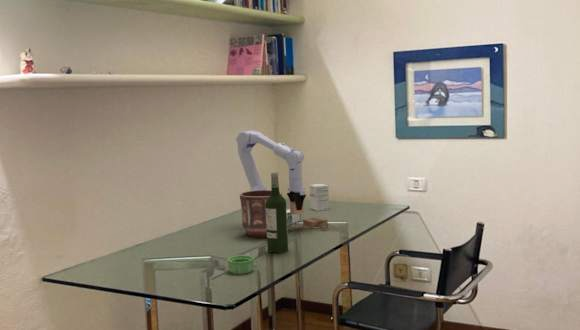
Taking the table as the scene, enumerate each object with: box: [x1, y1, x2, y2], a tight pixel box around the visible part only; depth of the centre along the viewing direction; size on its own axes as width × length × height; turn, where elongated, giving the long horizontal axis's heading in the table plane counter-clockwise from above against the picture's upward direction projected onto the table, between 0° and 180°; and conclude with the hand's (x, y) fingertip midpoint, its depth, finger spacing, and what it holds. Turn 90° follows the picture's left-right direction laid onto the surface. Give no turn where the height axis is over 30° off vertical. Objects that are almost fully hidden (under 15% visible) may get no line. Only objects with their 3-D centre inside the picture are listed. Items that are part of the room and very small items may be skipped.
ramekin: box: [227, 254, 255, 275], centre depth 210 cm, size 9×9×4 cm
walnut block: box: [302, 216, 329, 229], centre depth 275 cm, size 8×8×4 cm
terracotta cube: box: [289, 201, 305, 215], centre depth 270 cm, size 4×4×5 cm
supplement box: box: [309, 183, 330, 212], centre depth 315 cm, size 7×7×13 cm
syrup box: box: [286, 208, 303, 226], centre depth 284 cm, size 6×6×14 cm
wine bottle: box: [265, 172, 289, 254], centre depth 233 cm, size 8×8×30 cm
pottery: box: [239, 189, 283, 239], centre depth 262 cm, size 18×18×18 cm
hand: (296, 209), depth 270 cm, fingers closed on terracotta cube, 4 cm apart
